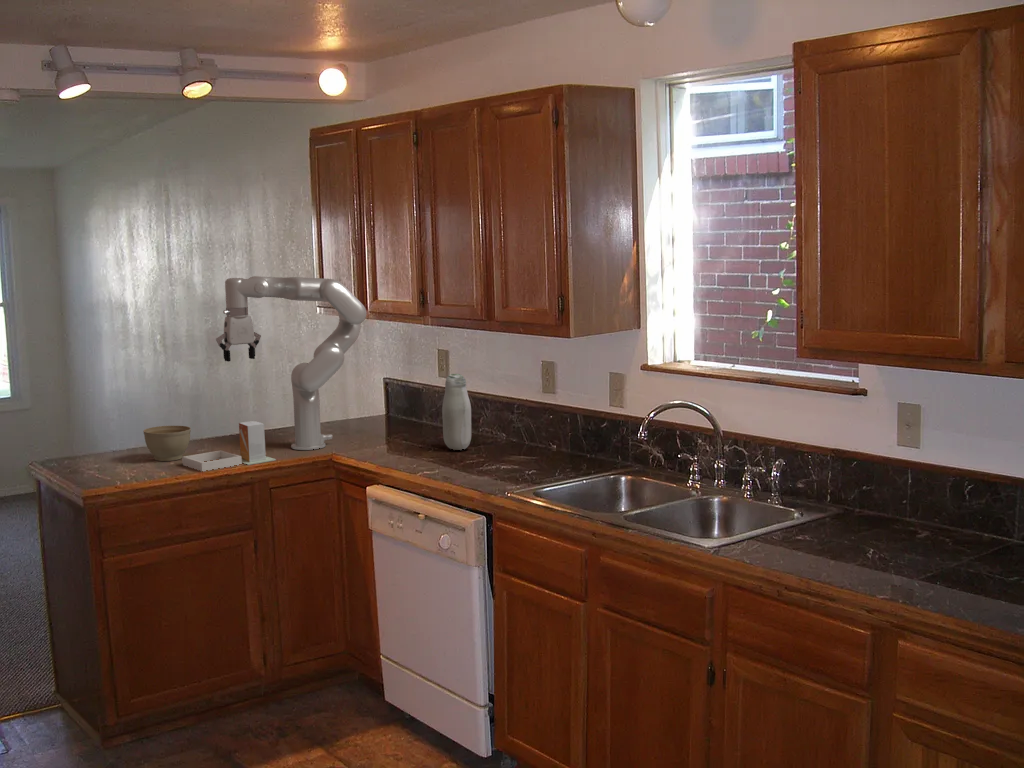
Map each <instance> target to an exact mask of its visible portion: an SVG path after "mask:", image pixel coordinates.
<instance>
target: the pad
mask: <svg viewBox="0 0 1024 768" xmlns="http://www.w3.org/2000/svg"><path fill="white" fill-rule="evenodd" d="M273 461H277V459H276V458H272V457H270V456H266V460H262V461H255V462H248V461H246V460H244V459H242V463H244V464H243V465H246V464H247V465H246V466H251V465H256V464H261V463H267V462H268V463H269V462H273Z"/></svg>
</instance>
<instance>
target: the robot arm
mask: <svg viewBox="0 0 1024 768" xmlns="http://www.w3.org/2000/svg"><path fill="white" fill-rule="evenodd" d="M224 290H225V291H224V292H225V309H224V310H223V312H222V313H223V314H224V315H225V317H224V323H223V334H221V335H219V336H218V337H216V338H215V342H216V344H218V346H219V348H221V350H223V359H224V361H225V362H231V350H230V347H232V346H235V345H236V346H238V345H248V348H247V349H248V358H249V359H250V360H254V359H256V348H257V345H259V343H260V340H261V338H262V335H261V334H259V333H257V332H255V330H254V324H253V321H252V316H251V315H249V304H248V303H249V302H248V298H255V299H262V298H277V299H285V300H289V301H300V302H301V301H304V302H309V301H310V302H323V303H325V302H327V303H329V304H330V306H332V308H334V309H335V310H336V312H337V314H338V320H339V321H338V324H337V327H336V328H335V330H333V332H332V333H331V334H330V335H329V336H328V337H327V338H325V340H324V341H322V343H320V344H319V345H318V346H317V347H316V348H315V349H314V351H313V359H311V360H310V361H309V362H301V363H298V364H297V365H295V366H294V368H293V369H292V370H291V371H292V372H291V375H290V380H291V382H290V383H291V388H292V396H293V397H292V399H293V401H292V402H293V419H294V421H293V422H294V440H295V441H294V442H293V443H291V446H290V447H291V449H293V450H298V451H313V449H314V450H319V448H320V449H323V448H325V447H326V443H325V441H328V440H332V439H333V434H331V433H328V434H324V433H321V409H320V406H321V405H320V403H321V402H320V388H322V386H324V385H325V384H327V382H328V381H329V380H330V379H331V378H332V377H333V376H334V375H335V374H336V373H337V372H338V371H339V370H340V369H341V367H342V366H343V364H344V361H345V353H346V352H347V351H348V350H350V348H351V347H352V346H353V345H354V344H355V343H356V340H357V339H358V337H359V335H360V333H361V327H362V326H361V324H363V322H364V321H365V320H366V318H367V309H366V307H365V305H364V304H363V303H362V302H361V301H360V300H359V298H357V297H356V295H354V294H353V293H352V292H351V291H350V290H349V289H348V288H347V287H346V286H345V284H343V283H342V282H341V281H340V280H338V279H334V278H319V277H303V276H302V277H300V276H297V277H296V276H295V277H294V276H285V277H275V276H261V275H260V276H259V275H256V276H255V275H253V276H250V277H248V278H244V277H231V278H227V279H226V280H225V281H224ZM222 340H223V341H224V343H223V342H222Z"/></svg>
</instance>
